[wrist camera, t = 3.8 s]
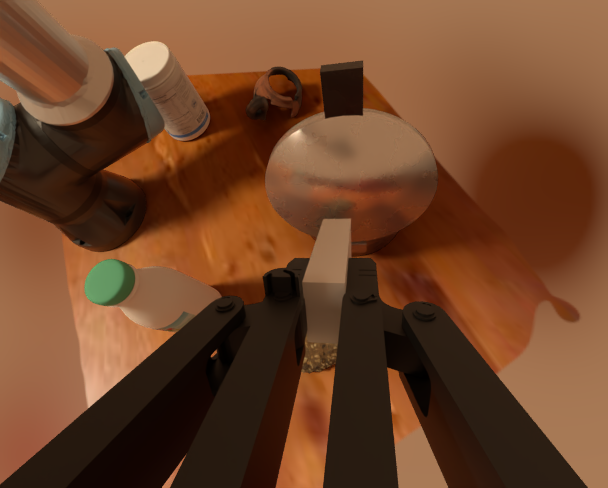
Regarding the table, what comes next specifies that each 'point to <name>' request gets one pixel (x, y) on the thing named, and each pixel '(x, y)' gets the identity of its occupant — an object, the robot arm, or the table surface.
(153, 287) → the milk bottle
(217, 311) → the robot arm
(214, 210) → the table surface
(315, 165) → the lid
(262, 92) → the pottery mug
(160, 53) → the supplement tub
